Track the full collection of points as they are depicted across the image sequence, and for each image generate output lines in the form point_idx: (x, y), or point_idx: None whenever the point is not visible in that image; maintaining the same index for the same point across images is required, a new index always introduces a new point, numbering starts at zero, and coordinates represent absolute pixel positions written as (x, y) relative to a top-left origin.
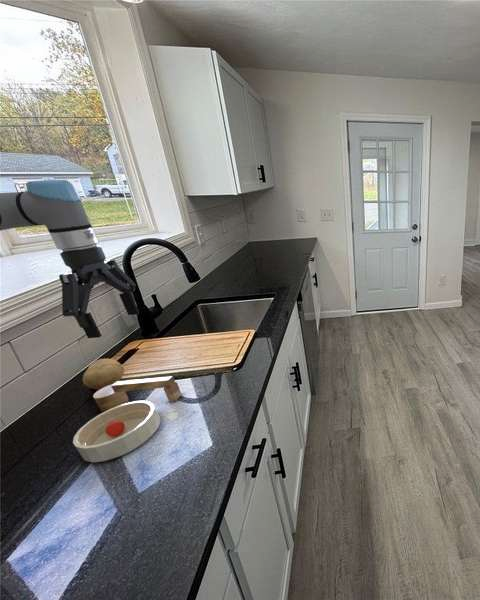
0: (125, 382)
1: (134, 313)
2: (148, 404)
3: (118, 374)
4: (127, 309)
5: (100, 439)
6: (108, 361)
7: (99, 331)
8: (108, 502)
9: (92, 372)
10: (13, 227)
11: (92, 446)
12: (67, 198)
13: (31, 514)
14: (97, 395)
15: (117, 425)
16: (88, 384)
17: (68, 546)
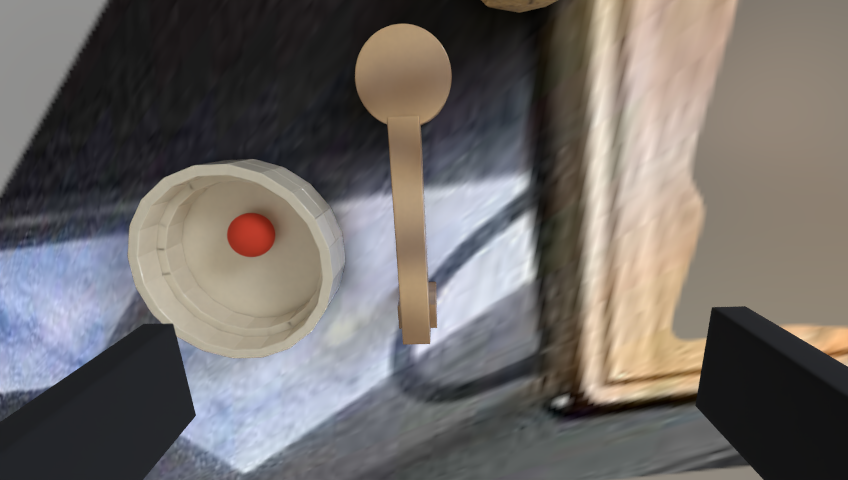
0: (405, 171)
1: (708, 386)
2: (311, 314)
3: (543, 2)
4: (767, 369)
5: (238, 191)
6: None
7: (163, 453)
8: (92, 353)
9: None
10: None
11: (136, 277)
12: None
13: (39, 209)
14: (373, 56)
15: (243, 254)
16: None
17: (12, 347)
